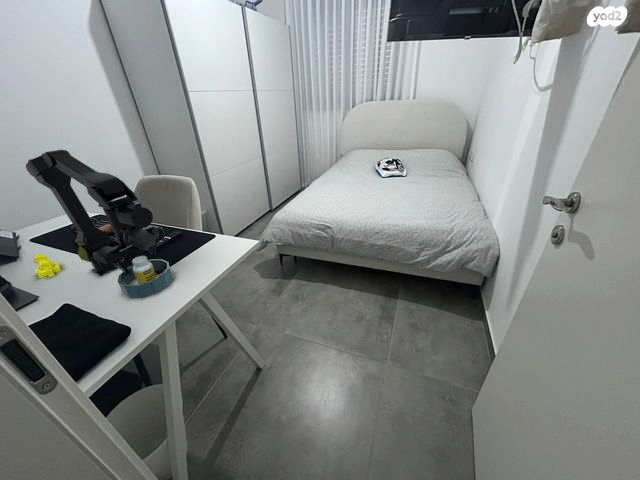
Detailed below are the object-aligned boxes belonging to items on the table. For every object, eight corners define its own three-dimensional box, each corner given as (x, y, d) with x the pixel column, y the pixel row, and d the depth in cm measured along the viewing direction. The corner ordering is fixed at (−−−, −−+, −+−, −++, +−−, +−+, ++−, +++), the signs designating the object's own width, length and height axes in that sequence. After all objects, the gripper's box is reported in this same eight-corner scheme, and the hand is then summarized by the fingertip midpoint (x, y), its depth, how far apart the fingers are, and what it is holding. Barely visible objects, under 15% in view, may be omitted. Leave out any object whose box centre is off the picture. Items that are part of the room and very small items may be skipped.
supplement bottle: (150, 289, 83) (139, 264, 78) (136, 287, 84) (124, 263, 79) (162, 279, 88) (152, 255, 83) (148, 277, 89) (138, 253, 84)
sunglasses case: (119, 224, 125) (117, 215, 120) (127, 234, 124) (126, 225, 119) (73, 240, 112) (69, 230, 107) (82, 251, 111) (79, 242, 106)
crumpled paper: (40, 280, 88) (27, 261, 85) (36, 272, 93) (24, 254, 89) (63, 272, 92) (51, 254, 89) (58, 264, 97) (46, 246, 93)
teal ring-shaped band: (115, 289, 84) (109, 276, 81) (157, 266, 94) (153, 255, 92) (139, 304, 78) (133, 291, 75) (182, 278, 88) (177, 266, 86)
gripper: (108, 241, 65) (132, 289, 72) (169, 212, 80) (183, 255, 88) (79, 234, 68) (105, 281, 76) (143, 208, 83) (159, 249, 91)
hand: (141, 265), depth 82 cm, fingers open, 9 cm apart
